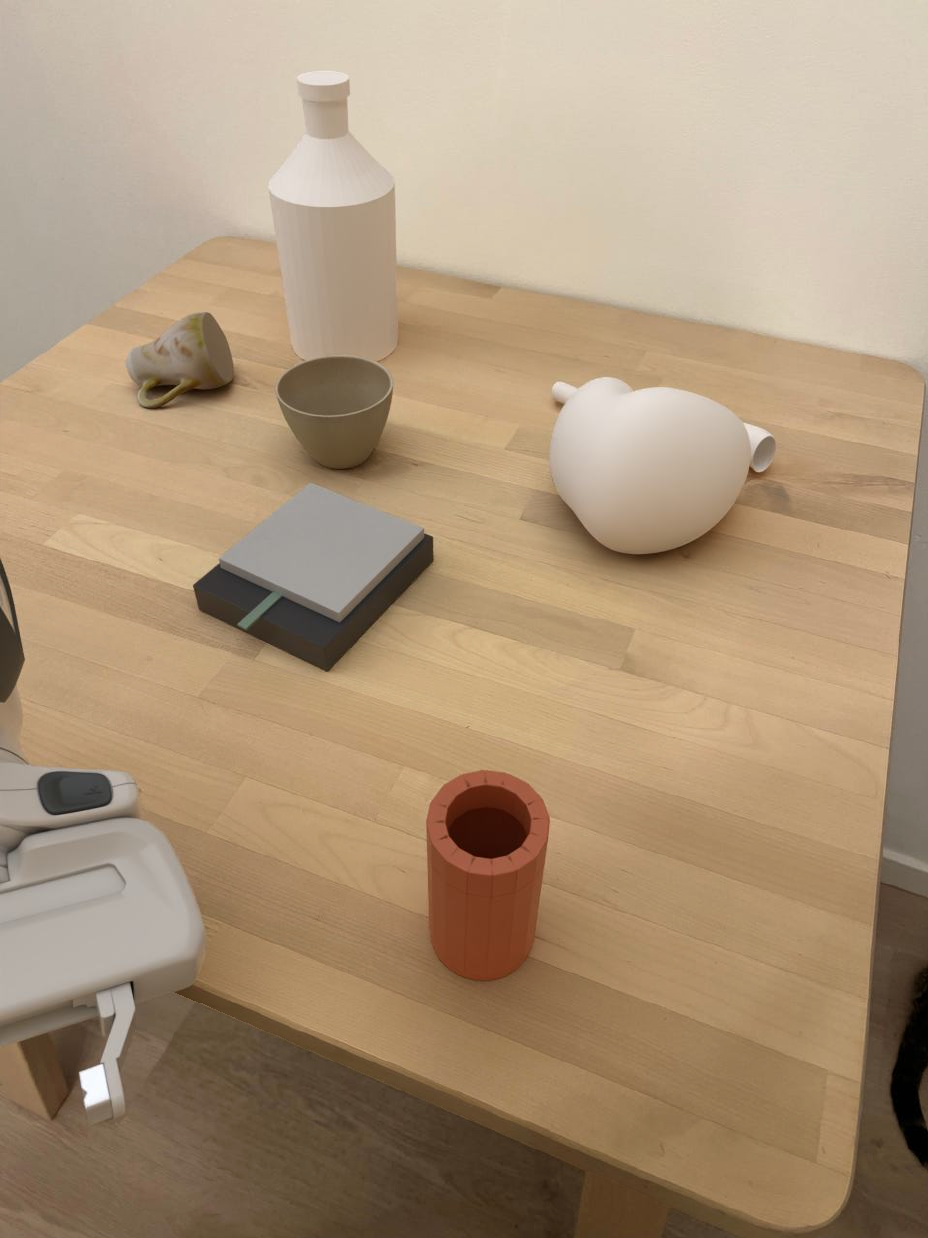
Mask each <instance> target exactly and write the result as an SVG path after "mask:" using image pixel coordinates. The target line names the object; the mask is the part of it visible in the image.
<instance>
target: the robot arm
mask: <svg viewBox="0 0 928 1238" xmlns="http://www.w3.org/2000/svg"><path fill="white" fill-rule="evenodd" d="M2 561H3V560H2V559H1V558H0V1049H1V1048H4V1047H7V1046H10V1045H13V1044H17V1043H20V1042H22V1041H26V1040H30V1039H32V1038H35V1037H38V1036H42V1035H44V1034H45V1035H46V1034H47V1033H51V1032H55V1031H57V1030H60V1029H63V1028H67V1027H69V1026H73V1025H76V1024H79V1023H82V1022H85V1021H88V1020H92V1019H94V1018H97V1019H98V1024H99V1029H100V1033H101V1036H102V1037H103V1038H107V1041H106V1043H105V1047H104V1050H103V1053H102V1056H101V1058H100V1061H99V1064H97V1065H93V1066H91V1067H89V1068H86V1069H83V1070H81V1071H79V1072H78V1077H79V1078H78V1079H79V1084H80V1085H79V1086H80V1090H81V1097H82V1102H83V1106H84V1114H85V1119H86V1125H87V1128H91V1127H93V1126H97V1125H99V1124H102V1123H105V1122H108V1121H111V1120H115V1119H118V1118H119V1117H122V1116H124V1115H126V1114H127V1111H126V1101H125V1094H124V1093H125V1092H124V1089H123V1084H122V1079H121V1074H120V1073H122V1071H123V1070H122V1069H123V1067H124V1064H125V1060H126V1058H127V1055H128V1051H129V1048H130V1047H131V1046H130V1045H131V1043H132V1040H133V1037H134V1034H135V1031H136V1029H137V1027H136V1026H137V1023H136V1022H137V1021H136V1019H137V1018H136V1016H137V1015H136V1005H138V1004H141V1003H144V1002H147V1001H151V1000H154V999H157V998H160V997H163V996H166V995H169V994H172V993H177V992H178V991H182V990H185V989H188V988H189V987H191V986H193V984H194V983H196V980H197V979H198V977H199V975H200V972H201V970H202V969H203V966H204V964H205V961H206V958H207V948H208V937H207V930H206V926H205V922H204V919H203V915H202V912H201V909H200V907H199V904H198V900H197V897H196V895H195V892H194V889H193V887H192V885H191V883H190V879H189V878H188V875H187V873H186V870H185V869H184V866H183V864H182V863H181V860H180V858H179V856H178V854H177V852H176V850H175V848H174V846H173V845H172V843H171V841H170V840H169V839H168V837H167V836H166V834H165V833H164V832H163V831H162V830H161V829H159V828H158V827H157V826H156V825H154V824H153V823H151V822H149V821H147V820H145V819H144V814H143V808H142V801H141V797H140V791H139V789H138V786H137V785H138V784H137V782H136V780H135V777H133V775H132V774H131V773H128V772H126V771H123V770H119V769H118V770H117V769H101V768H100V769H97V768H96V769H95V768H94V769H93V768H72V767H57V766H55V767H54V766H46V765H45V766H43V765H34V764H32V763H31V761H30V760H29V758H28V756H27V755H26V754H25V752H24V750H23V749H22V746H21V745H22V744H21V735H22V731H23V727H24V712H23V711H24V710H23V705H22V700H21V695H20V691H19V685H18V681H19V678H20V675H21V672H22V671H23V667H24V664H25V661H26V657H25V652H24V647H23V642H22V636H21V633H20V626H19V622H18V615H17V611H16V606H15V601H14V597H13V593H12V592H13V591H12V589H11V585H10V582H9V578H8V575H7V572H6V569H5V567H4V564H3V562H2Z"/></svg>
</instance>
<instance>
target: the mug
mask: <svg viewBox="0 0 928 1238" xmlns="http://www.w3.org/2000/svg"><path fill="white" fill-rule="evenodd" d="M228 341H229V340H228V339H227V337H226V334H225V333H224V331H223V329H222V328H221V326H220V324H219V323H218V321H217V320H216V318H215V317H214V315H213V314H212V313H211V312H207V311H203V312H201V311H200V312H195V313H192V314H188V315H186V316H184V317H183V318H181V319H180V320H178V321H177V322H175V323H174V324H173V325H172V326H170V327H169V328H168V329H167V330H166V331H165V332H163V334H161V335H160V336H158V338H156V339H155V340H153V341H151V342H149V343H145V344H143V345H139V346H136V347H134V348H131V350H130V351H129V353H128V355H127V357H126V360H125V367H126V372H127V373H128V375H129V377H130V379H131V380H132V381H133V382H134V383H135V384H136V385H138V386H140V387H141V388H140V389H139V390H138V392H137V395H136V400H137V402H138V404H139V406H141V407H144V408H160V407H162V406H164V405H166V404H168V403H170V402H171V401H173V400H174V399H177V398H178V397H179V396H181V395H183V394H184V393H187V392H188V391H191V390H193V389H194V390H214V389H219V388H221V387H223V386H225V385H228V384H229V383H231V382H233V379H234V375H235V366H234V361H233V355H232V351H231V348H230V344H229V342H228ZM160 386H175V387H174V388H173V389H171V390H170V391H168V392H167V393H166V394H164V395H163V396H161V397H159V398H156V399H148V398H147V395H148V391H149V390H151V389H153V388H155V387H160Z"/></svg>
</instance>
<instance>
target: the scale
mask: <svg viewBox="0 0 928 1238" xmlns="http://www.w3.org/2000/svg"><path fill="white" fill-rule="evenodd" d="M218 562H219V563H217V564H216V565H215V566H214V567H213V568H211V569H210V570H209V571H208V572H207V573H205V574H204V575H203V576H202V577H201V578H200V579H199V580H197V581H196V582H194V583H193V584H192V588H193V592H194V596H195V599H196V603H197V604H196V605H197V607H198V610H199V611H201V612H203V613H205V614H208V615H209V616H211V617H214V618H215V619H218V620H219V621H222V622H224V623H225V624H229V625H230V626H232V627H234V628H237V629H238V630H240V631H243V632H245V633H247V634H249V635H251V636H252V637H255V638H257V639H259V640H261V641H264V642H265V643H267V644H269V645H271V646H274V647H276V648H278V649H280V650H282V651H284V652H285V653H288V654H290V655H292V656H293V657H296V658H298V659H300V660H301V661H305V662H306V663H309V664H310V665H312V666H315V667H316V668H318V669H321V670H323V671H325V672H329V671H330V670H331V669H332V668H333V667H334V665H335V664H337V662H339V661H340V659H341V658H342V657H343V656H344V655H345V654H346V653H348V651H349V650H350V649H351V648H352V647H353V645H355V644H356V642H358V640H359V639H360V638H361V637H362V636H363V635H364V634H365V633H366V632H367V631H368V630H369V629H370V628H371V627H372V626H373V625H374V624H375V623H376V622H377V620H378V619H379V618H380V617H382V615H383V614H384V613H385V612H387V610H388V609H389V608H390V607H391V606H392V605H393V604H394V603H395V602H396V601H397V600H398V598H399V597H400V596H402V594H403V593H404V592H406V590H407V589H408V588H409V587H410V586H411V585H412V584H413V583H414V582H415V581H416V579H418V578H419V577H420V575H422V574H423V573H424V571H425V570H426V569H427V568H428V567H429V566H430V565H431V564H432V563H433V562H434V536H432V535H430V534H428V533H425V527H423V526H420V525H418V524H416V523H413V522H410V521H408V520H405V519H404V518H400V517H398V516H395V515H393V514H390V513H387V512H385V511H383V510H381V509H377V508H375V507H372V506H370V505H367V504H365V503H363V502H360V501H358V500H355V499H352V498H351V497H347V496H345V495H342V494H340V493H338V492H336V491H332V490H330V489H328V488H325V487H323V486H320V485H319V484H318V485H317V484H315V483H312V482H309V483H308V484H306V485H305V486H304V487H303V488H302V489H300V490H299V491H298V492H297V493H296V494H295V495H293V496H292V497H291V498H289V499H288V500H287V501H286V502H285V503H283V504H282V505H281V506H280V507H279V508H277V509H276V510H275V511H274V512H272V514H270V515H269V516H268V517H267V518H265V519H264V520H263V521H262V522H261V523H259V524H258V525H257V526H256V527H254V528H253V529H252V530H251V531H250V532H249V533H247V534H246V535H245V536H244V537H242V538H241V539H240V540H238V541H237V542H236V543H235V544H234V545H233V546H231V547H230V548H229V549H228V550H227V551H226V552H223V554H222V555H220V556H219V557H218Z"/></svg>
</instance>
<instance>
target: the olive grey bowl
mask: <svg viewBox="0 0 928 1238" xmlns="http://www.w3.org/2000/svg"><path fill="white" fill-rule="evenodd" d="M274 391H275V396H276V399H277V401H278V405H279V408H280V411H281V413H282V415H283V417H284V420H285V421H286V424H287V426H288V427H289V429H290V431H291V433H292V434H293V435H294V437H295V438H296V440H297V441H298V442H299V444H300V445H301V446H302V448H303V449H304V450H305V451H306V453H308V455H309V456H311V457H312V459H314V460H315V462H317V463H318V464H320V465H321V466H323V467H325V468H328V469H333V470H345V469H351V468H355V467H357V466H359V465H361V464H363V463H364V462H365V461H366V460H367V459H369V457H370V455H371V454H372V452H373V451H374V449H375V448H376V446H377V445H378V442H379V441H380V438H381V437H382V434H383V432H384V429H385V426H386V424H387V421H388V417H389V414H390V410H391V406H392V401H393V400H392V399H393V394H394V393H393V392H394V378H393V376H392V374H391V372H390V371H389V370H388V369H387V368H386V367H385V366H384V365H382V364H381V363H379V362H378V361H377V362H375V361H373V360H370V359H367V358H363V357H359V356H352V355H328V356H321V357H316V358H312V359H308V360H302V361H300V362H298V363H296V364H294V365H292V366H291V367H289V368H287V370H285V371H283V373H282V374H281V375H280V376H279V377H278V379H277V381H276V382H275V387H274Z"/></svg>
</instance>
